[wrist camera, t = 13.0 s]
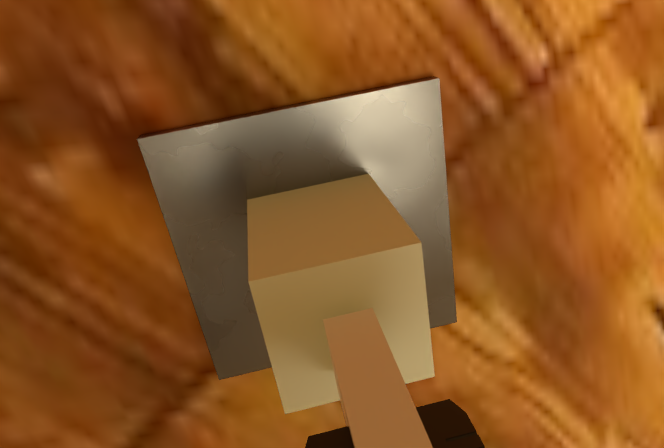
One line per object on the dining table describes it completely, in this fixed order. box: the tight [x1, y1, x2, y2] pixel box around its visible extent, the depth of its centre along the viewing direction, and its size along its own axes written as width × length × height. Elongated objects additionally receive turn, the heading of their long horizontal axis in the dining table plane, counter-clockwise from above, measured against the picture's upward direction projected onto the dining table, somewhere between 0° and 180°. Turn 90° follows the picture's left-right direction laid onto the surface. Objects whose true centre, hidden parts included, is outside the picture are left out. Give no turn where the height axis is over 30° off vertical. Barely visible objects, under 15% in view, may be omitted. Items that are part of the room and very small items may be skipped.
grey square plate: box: [137, 76, 457, 380], centre depth 19 cm, size 12×12×6 cm
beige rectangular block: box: [247, 174, 435, 414], centre depth 19 cm, size 5×5×7 cm
